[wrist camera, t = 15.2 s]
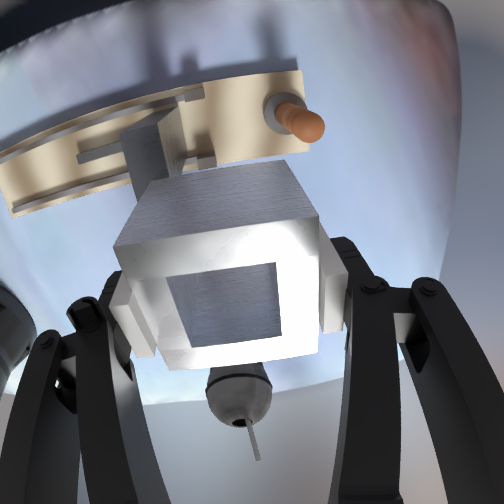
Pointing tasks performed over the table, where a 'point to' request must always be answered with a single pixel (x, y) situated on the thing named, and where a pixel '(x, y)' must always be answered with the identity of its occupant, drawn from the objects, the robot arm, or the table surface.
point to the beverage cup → (240, 396)
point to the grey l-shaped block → (148, 148)
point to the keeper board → (194, 126)
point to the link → (225, 265)
